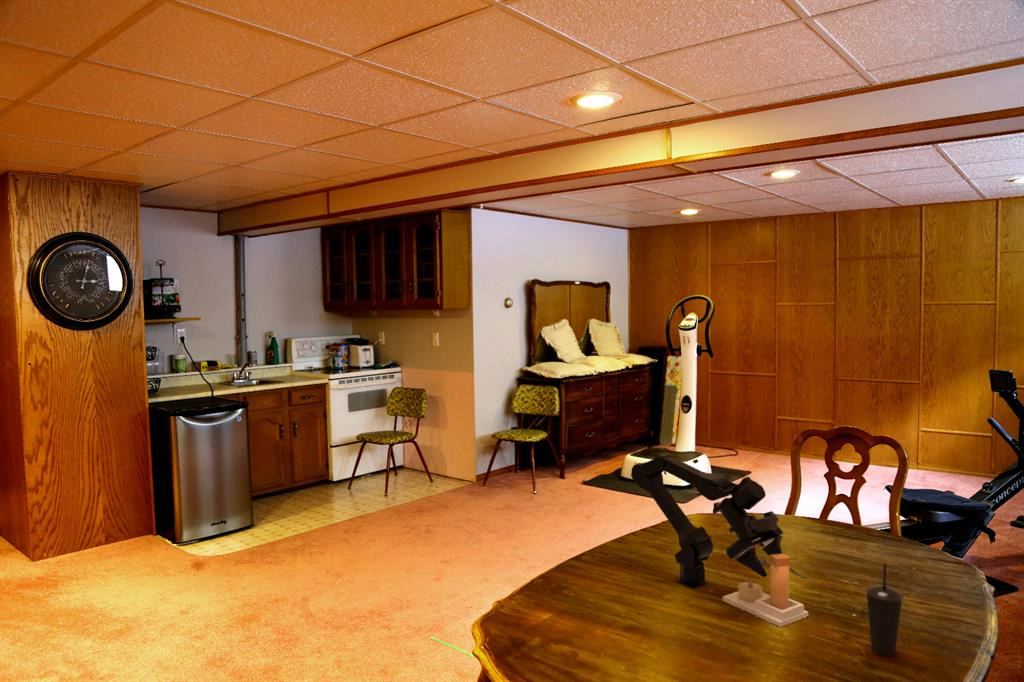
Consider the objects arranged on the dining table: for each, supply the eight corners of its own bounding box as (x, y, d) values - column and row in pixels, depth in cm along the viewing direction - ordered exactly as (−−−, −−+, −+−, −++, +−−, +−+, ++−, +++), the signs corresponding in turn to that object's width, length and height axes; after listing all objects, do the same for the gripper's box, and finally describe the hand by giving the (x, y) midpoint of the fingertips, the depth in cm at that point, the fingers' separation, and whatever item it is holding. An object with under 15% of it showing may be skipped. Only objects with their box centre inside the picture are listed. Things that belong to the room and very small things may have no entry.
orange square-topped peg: (766, 607, 179) (767, 553, 179) (782, 605, 180) (783, 552, 179) (775, 614, 175) (776, 560, 174) (791, 613, 176) (792, 558, 175)
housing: (722, 600, 186) (722, 581, 186) (750, 591, 192) (750, 573, 192) (779, 627, 171) (780, 606, 171) (808, 616, 177) (808, 596, 176)
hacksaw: (756, 562, 214) (756, 557, 214) (785, 559, 217) (785, 554, 217) (807, 594, 191) (807, 588, 191) (839, 590, 194) (839, 585, 193)
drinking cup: (857, 643, 163) (859, 559, 161) (888, 641, 163) (890, 558, 162) (877, 660, 155) (879, 572, 154) (909, 658, 156) (911, 570, 154)
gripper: (737, 509, 175) (777, 565, 167) (777, 496, 187) (816, 547, 179) (710, 532, 182) (747, 587, 174) (750, 517, 193) (786, 568, 186)
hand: (775, 571), depth 178 cm, fingers open, 9 cm apart
